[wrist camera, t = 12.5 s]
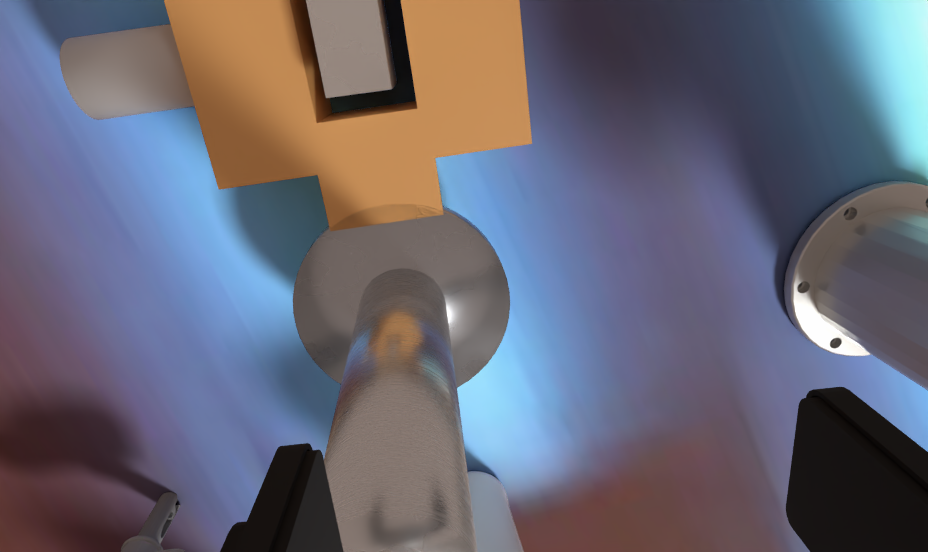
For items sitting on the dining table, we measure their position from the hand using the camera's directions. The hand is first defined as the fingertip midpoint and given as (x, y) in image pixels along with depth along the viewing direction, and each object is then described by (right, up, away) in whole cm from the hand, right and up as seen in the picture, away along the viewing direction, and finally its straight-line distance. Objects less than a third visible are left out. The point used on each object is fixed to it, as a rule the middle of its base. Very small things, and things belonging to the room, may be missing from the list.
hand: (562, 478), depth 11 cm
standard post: (-6, +4, +26) cm, 27 cm away
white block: (-8, +17, +21) cm, 29 cm away
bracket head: (-10, +15, +22) cm, 29 cm away
